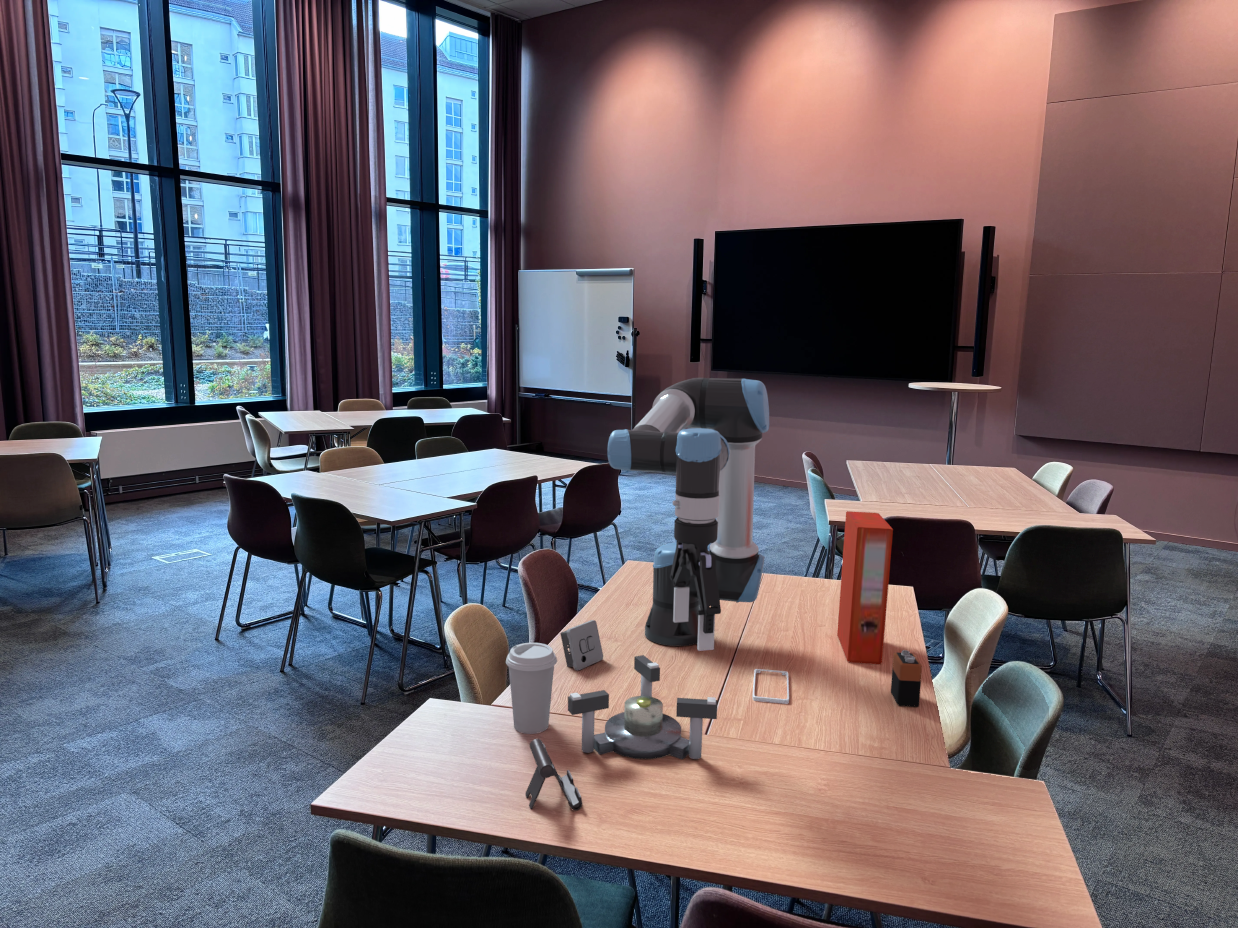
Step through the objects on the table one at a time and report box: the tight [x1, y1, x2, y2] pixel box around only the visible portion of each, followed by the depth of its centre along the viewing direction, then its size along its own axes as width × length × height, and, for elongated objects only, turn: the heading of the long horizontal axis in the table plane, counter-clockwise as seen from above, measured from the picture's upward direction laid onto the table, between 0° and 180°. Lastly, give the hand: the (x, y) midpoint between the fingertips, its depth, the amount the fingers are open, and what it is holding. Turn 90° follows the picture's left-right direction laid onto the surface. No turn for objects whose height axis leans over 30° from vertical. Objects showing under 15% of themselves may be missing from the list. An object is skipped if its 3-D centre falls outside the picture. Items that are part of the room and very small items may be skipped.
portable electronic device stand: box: [525, 738, 583, 812], centre depth 132 cm, size 9×8×8 cm
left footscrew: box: [675, 696, 718, 760], centre depth 145 cm, size 7×2×11 cm, turn 84°
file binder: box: [836, 510, 894, 666], centre depth 196 cm, size 8×17×32 cm, turn 173°
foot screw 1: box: [567, 689, 610, 754], centre depth 147 cm, size 7×2×11 cm, turn 115°
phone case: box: [752, 668, 790, 705], centre depth 176 cm, size 7×1×15 cm
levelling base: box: [594, 695, 689, 760], centre depth 151 cm, size 18×16×8 cm
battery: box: [890, 649, 923, 708], centre depth 171 cm, size 4×7×10 cm, turn 174°
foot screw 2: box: [633, 654, 661, 697], centre depth 162 cm, size 7×2×11 cm, turn 25°
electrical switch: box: [559, 619, 604, 671], centre depth 187 cm, size 9×5×9 cm, turn 141°
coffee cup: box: [505, 642, 558, 735], centre depth 156 cm, size 10×10×15 cm
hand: (692, 634), depth 147 cm, fingers open, 13 cm apart
